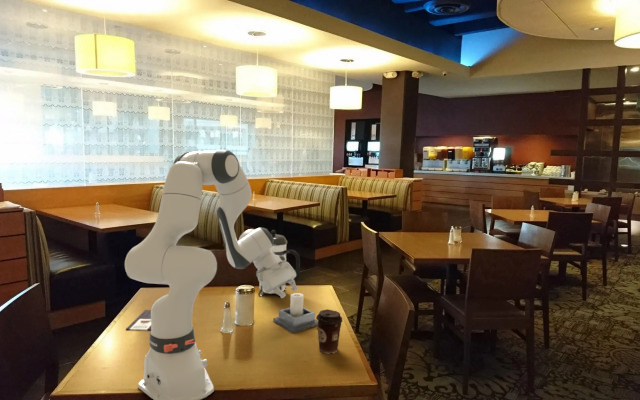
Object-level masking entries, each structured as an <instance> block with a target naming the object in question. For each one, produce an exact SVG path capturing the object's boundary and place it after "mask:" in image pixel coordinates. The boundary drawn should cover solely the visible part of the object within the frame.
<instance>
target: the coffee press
mask: <svg viewBox="0 0 640 400" xmlns="http://www.w3.org/2000/svg"><path fill="white" fill-rule="evenodd" d="M270 234H271V235H272V236H273V238H274V243H273V247H272V248H271V249H270V250H271V251H272V252H273V253H274V254H275V255H279V256H284V257H285V258H286V259H287V254H290V255H293V256H294V257H295V272H296V277H295V278H294V281H295V284H296V283H297V282H298V281H299V278H300V273H301V272H300V271H301V258H300V255H299V253H298V252H297V251H296V250H293V249H287V244H288V240H287V239H286V237H285V236H284V235H282V234H277V231H276V230H275V229H272V230H271V231H270ZM286 285H290V284H289V283H288V282H287V283H285V284H284V285H282V286H280V287H279V288H280V290H281V291H282V292H285V291H286V290H287V287H286ZM285 289H286V290H285ZM284 290H285V291H284ZM264 294H271V295H272V294H275V293H274V291H273V290H272V291H271V292H269V293H267V292H266V291H265V290H264V289H263V287H262V286H261V284H260V283H259V291H258V293H257V295H258V296H259V297H262V296H263V295H264ZM277 295H278V294H277ZM278 297H279V295H278Z"/></svg>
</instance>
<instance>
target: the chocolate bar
mask: <svg viewBox="0 0 640 400" xmlns="http://www.w3.org/2000/svg"><path fill="white" fill-rule="evenodd" d="M125 330H126V331H148V332H149V331H150V332H151V309H145V310H144V311H142V313H141V314H140V315H138V316H137V317H136V318H135V320H134V321H132V322H131V323H130V324H129V325H128V326H127V327H126V329H125Z"/></svg>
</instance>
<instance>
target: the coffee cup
mask: <svg viewBox="0 0 640 400" xmlns="http://www.w3.org/2000/svg"><path fill="white" fill-rule="evenodd" d="M315 320H317V321H318V326H317V335H318V336H317V337H318V344H319V345H318V350H319V351H321V353H323V354H328V355H331V354H330V353H333V354H336V353H337V352H338V346H339V343H340V342H339V340H340V334H341V327H342V322H343V317H342V316H341V313H340V312H339V311H337V310H332V309H322V310H320V311H319V312H318V315H316V316H315ZM335 352H336V353H335Z"/></svg>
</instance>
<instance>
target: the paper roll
mask: <svg viewBox="0 0 640 400" xmlns="http://www.w3.org/2000/svg"><path fill="white" fill-rule="evenodd" d="M304 296H305V295H304V294H303V293H299V292H296V293H294V292H293V293H291V294H290V298H289V299H290V304H289V305H290V307H289V308H290V315H291V316H293V317H297V316H301V315H303V307H304Z"/></svg>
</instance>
